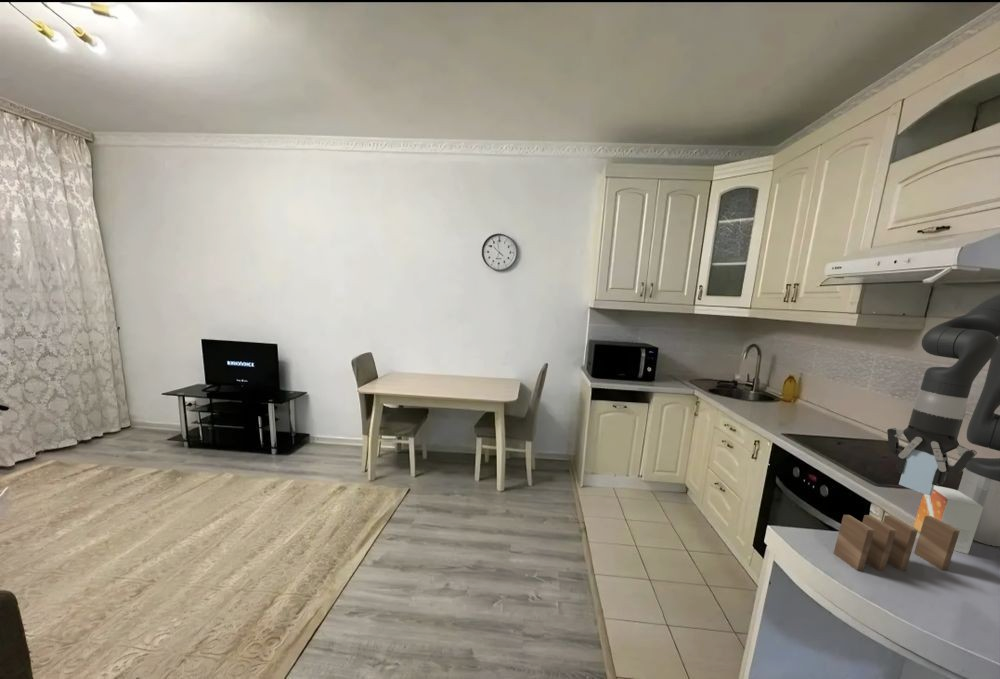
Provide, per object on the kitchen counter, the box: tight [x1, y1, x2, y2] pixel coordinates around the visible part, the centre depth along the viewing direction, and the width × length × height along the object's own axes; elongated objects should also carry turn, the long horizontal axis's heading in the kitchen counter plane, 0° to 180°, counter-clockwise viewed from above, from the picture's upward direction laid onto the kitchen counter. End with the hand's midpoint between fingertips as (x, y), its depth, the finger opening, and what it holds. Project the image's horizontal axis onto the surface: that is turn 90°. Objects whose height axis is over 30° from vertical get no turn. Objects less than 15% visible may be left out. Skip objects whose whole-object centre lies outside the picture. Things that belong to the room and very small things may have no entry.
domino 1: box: [833, 514, 874, 572], centre depth 79 cm, size 2×5×10 cm, turn 6°
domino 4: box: [898, 449, 939, 495], centre depth 85 cm, size 2×5×10 cm, turn 27°
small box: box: [913, 485, 983, 555], centre depth 90 cm, size 8×6×13 cm
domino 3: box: [882, 514, 919, 571], centre depth 80 cm, size 2×5×10 cm, turn 6°
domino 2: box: [861, 514, 896, 571], centre depth 80 cm, size 2×5×10 cm, turn 6°
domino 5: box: [913, 516, 960, 571], centre depth 82 cm, size 2×5×10 cm, turn 6°
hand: (918, 478), depth 85 cm, fingers closed on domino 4, 5 cm apart
